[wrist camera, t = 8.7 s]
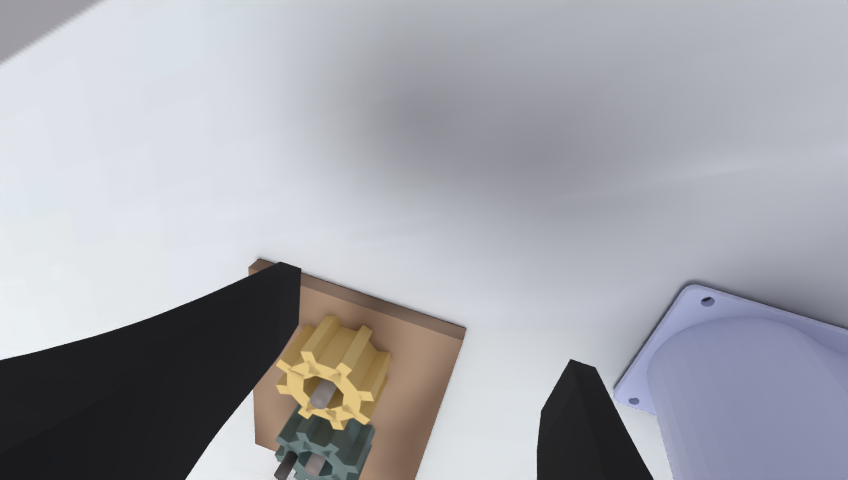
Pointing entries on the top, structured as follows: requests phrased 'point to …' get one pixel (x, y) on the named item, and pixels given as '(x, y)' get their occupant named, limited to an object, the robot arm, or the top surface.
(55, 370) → the robot arm
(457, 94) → the top surface
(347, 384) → the ochre gear
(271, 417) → the gear board
